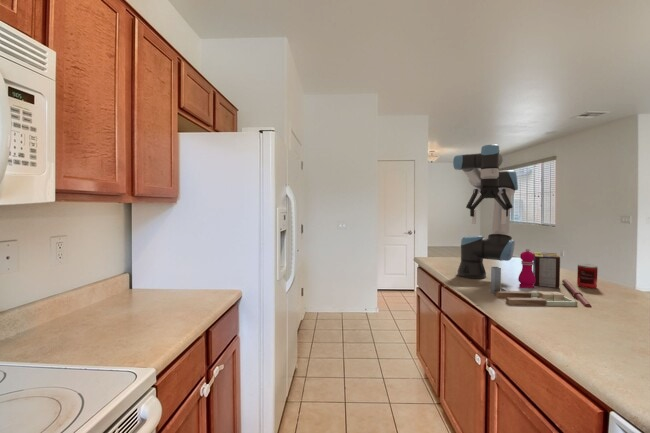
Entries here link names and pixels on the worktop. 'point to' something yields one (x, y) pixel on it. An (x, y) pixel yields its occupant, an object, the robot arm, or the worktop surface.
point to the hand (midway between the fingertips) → (488, 223)
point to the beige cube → (545, 296)
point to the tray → (558, 303)
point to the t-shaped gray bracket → (496, 280)
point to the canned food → (587, 276)
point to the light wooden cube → (557, 296)
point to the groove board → (519, 298)
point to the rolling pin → (576, 293)
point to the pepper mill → (527, 270)
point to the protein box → (546, 269)
